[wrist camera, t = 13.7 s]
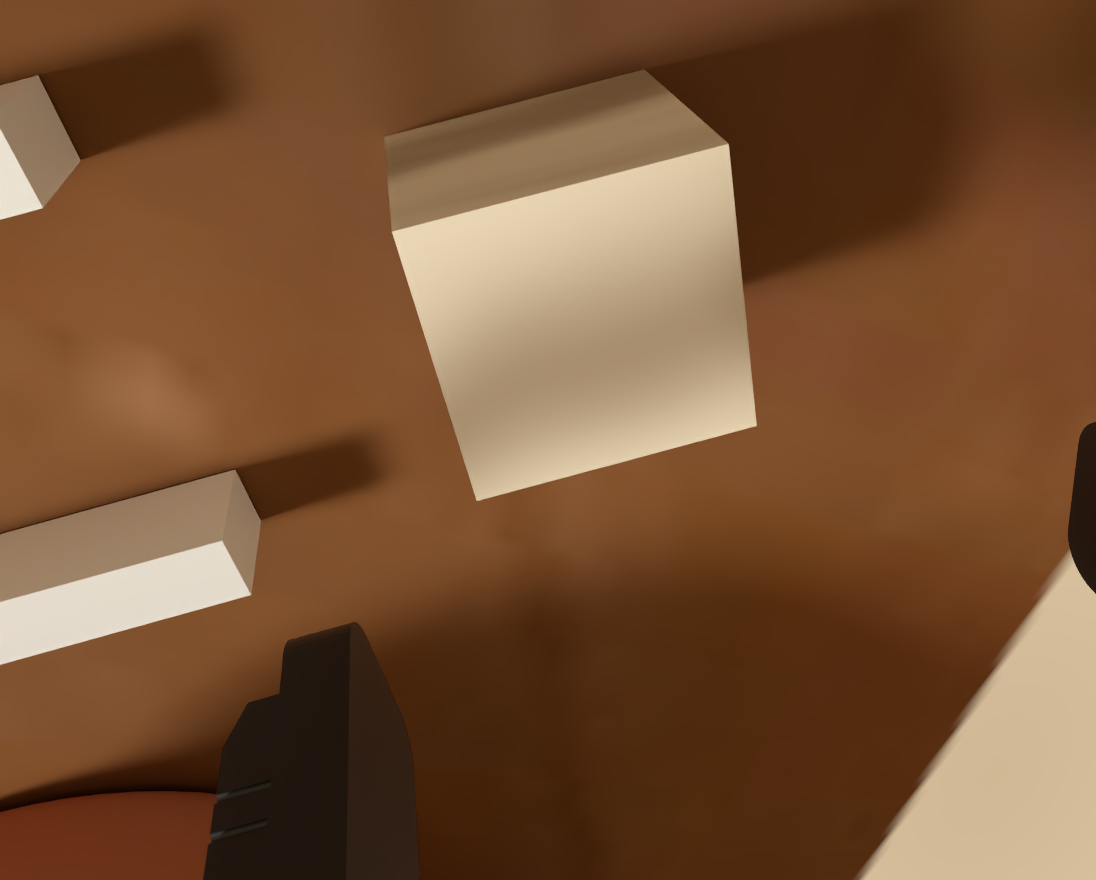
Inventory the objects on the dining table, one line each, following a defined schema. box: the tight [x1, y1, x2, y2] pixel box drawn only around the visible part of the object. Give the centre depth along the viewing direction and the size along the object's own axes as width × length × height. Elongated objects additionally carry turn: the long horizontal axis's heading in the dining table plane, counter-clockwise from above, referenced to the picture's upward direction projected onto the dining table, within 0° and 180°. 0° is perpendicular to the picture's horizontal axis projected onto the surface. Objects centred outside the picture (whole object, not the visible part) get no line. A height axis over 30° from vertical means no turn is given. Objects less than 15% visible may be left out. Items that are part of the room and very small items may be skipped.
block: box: [384, 70, 756, 501], centre depth 17 cm, size 5×5×5 cm
